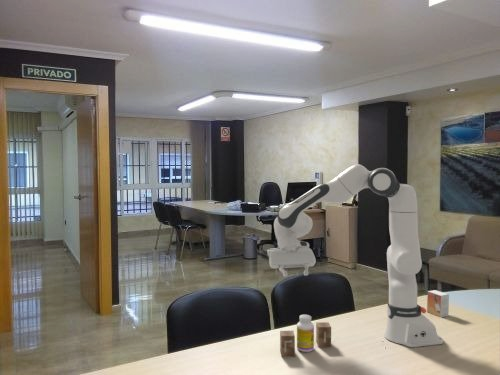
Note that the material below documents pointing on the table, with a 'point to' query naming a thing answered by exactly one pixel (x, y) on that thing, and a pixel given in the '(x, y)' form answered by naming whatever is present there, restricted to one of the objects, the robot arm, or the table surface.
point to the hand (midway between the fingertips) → (296, 275)
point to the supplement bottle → (305, 334)
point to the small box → (438, 303)
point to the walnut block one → (323, 334)
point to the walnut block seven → (287, 344)
